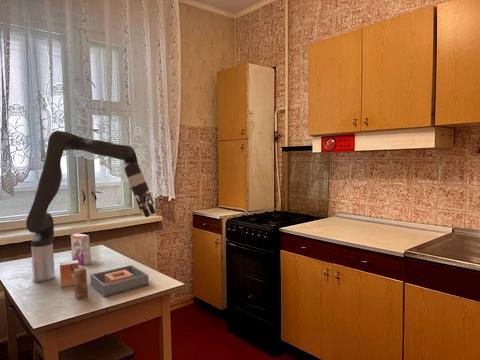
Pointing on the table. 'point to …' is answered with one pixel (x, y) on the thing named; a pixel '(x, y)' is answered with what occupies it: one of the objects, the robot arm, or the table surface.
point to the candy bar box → (81, 248)
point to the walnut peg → (80, 283)
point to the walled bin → (118, 280)
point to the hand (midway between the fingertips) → (150, 215)
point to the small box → (68, 272)
